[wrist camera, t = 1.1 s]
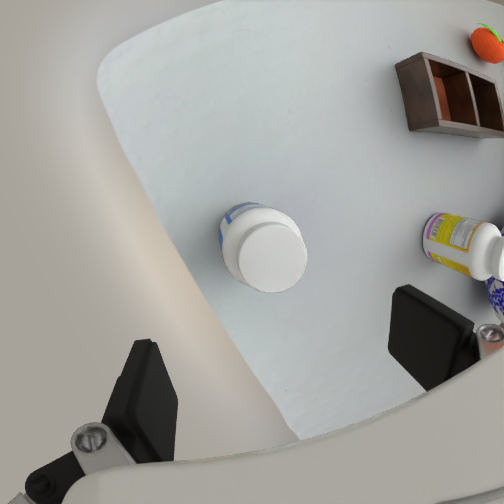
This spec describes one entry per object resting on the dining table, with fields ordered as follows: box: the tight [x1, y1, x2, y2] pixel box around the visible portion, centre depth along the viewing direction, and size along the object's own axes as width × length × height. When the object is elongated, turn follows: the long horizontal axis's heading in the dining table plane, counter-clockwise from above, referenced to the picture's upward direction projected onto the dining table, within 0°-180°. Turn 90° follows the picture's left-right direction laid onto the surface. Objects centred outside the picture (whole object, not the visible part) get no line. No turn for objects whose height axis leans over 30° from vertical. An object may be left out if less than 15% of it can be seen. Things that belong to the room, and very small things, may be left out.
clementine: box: [471, 23, 504, 64], centre depth 22 cm, size 8×7×7 cm
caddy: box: [395, 52, 504, 138], centre depth 25 cm, size 9×17×6 cm, turn 98°
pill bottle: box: [219, 202, 307, 293], centre depth 23 cm, size 6×6×11 cm
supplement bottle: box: [423, 213, 504, 281], centre depth 26 cm, size 7×7×13 cm
